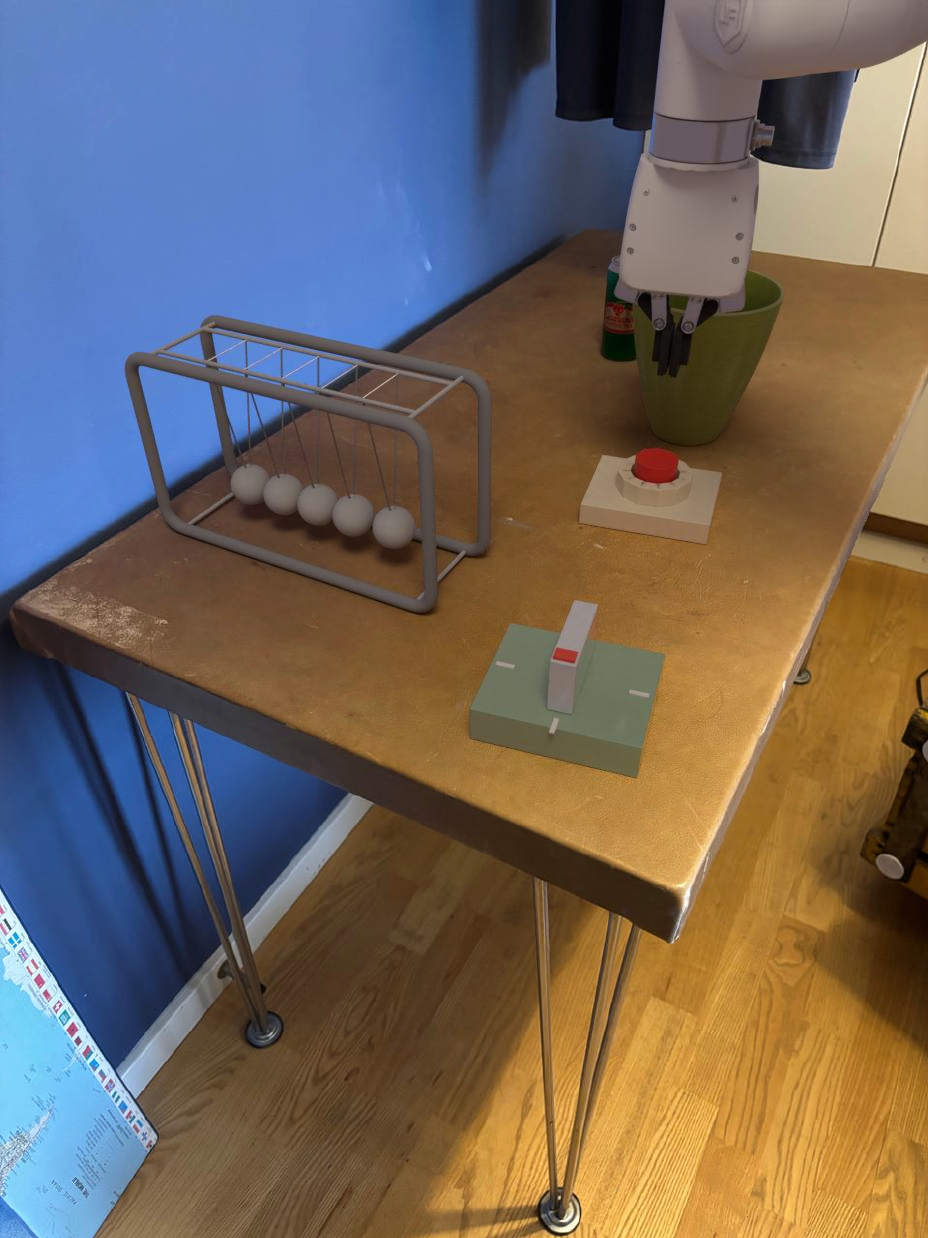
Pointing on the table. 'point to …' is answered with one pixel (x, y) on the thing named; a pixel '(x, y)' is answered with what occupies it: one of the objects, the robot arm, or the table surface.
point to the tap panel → (603, 714)
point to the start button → (656, 466)
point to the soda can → (617, 321)
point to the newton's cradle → (317, 499)
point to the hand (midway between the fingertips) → (668, 370)
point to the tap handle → (572, 657)
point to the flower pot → (707, 364)
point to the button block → (651, 501)
